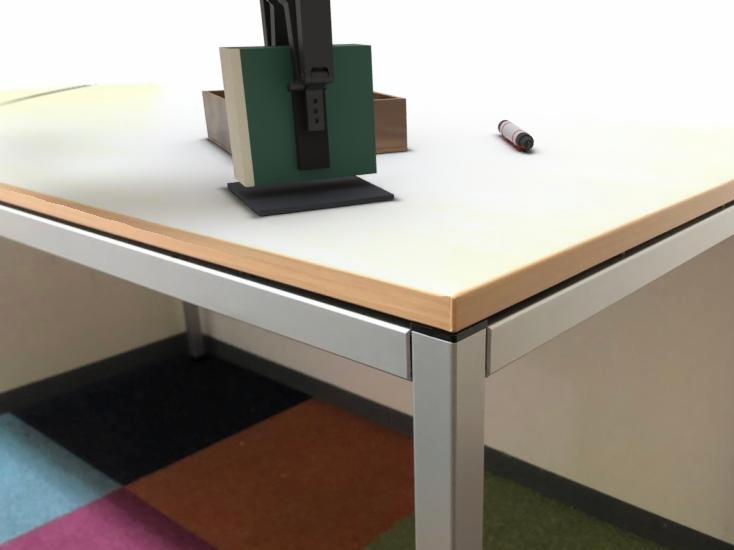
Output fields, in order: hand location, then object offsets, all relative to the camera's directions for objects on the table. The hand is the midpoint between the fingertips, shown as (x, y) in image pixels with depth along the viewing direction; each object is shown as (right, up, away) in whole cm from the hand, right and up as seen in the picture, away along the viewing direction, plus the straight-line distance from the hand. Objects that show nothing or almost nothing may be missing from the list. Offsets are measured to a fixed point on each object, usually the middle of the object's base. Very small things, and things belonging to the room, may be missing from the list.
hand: (305, 163), depth 67 cm
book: (0, -1, 0) cm, 1 cm away
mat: (0, -2, +1) cm, 3 cm away
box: (-6, +9, +26) cm, 28 cm away
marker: (+21, +8, +26) cm, 35 cm away
